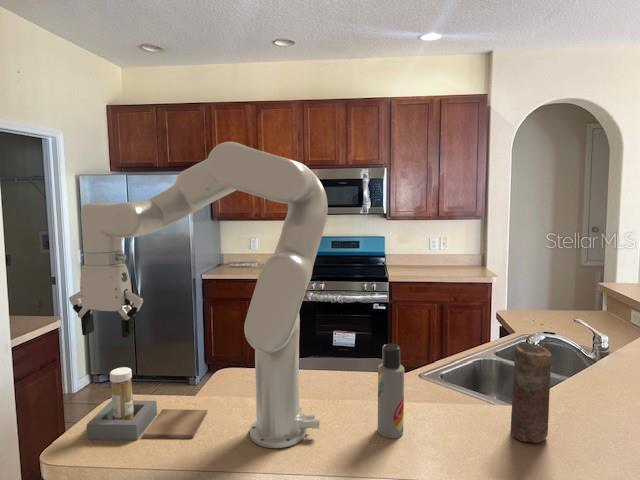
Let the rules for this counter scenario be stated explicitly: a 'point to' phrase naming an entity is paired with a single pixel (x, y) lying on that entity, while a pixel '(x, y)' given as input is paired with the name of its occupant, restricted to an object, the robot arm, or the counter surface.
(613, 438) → the counter surface
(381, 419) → the lotion bottle
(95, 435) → the grey square tray
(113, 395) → the sprinkles bottle
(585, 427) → the counter surface
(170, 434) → the coaster board
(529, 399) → the candle
